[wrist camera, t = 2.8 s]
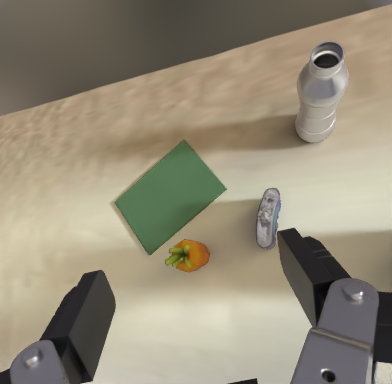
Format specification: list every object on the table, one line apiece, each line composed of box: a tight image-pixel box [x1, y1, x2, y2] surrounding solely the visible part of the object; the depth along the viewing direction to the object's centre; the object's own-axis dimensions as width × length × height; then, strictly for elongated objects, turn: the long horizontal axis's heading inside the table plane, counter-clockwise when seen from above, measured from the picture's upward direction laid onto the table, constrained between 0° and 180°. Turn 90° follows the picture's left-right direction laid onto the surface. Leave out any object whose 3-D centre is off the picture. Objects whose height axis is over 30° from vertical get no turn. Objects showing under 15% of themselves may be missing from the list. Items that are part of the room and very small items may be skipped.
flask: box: [256, 188, 281, 249], centre depth 44 cm, size 9×3×11 cm, turn 168°
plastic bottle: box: [295, 41, 349, 143], centre depth 41 cm, size 6×7×20 cm
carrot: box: [165, 239, 210, 272], centre depth 45 cm, size 5×5×15 cm
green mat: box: [115, 140, 227, 255], centre depth 56 cm, size 14×20×1 cm
